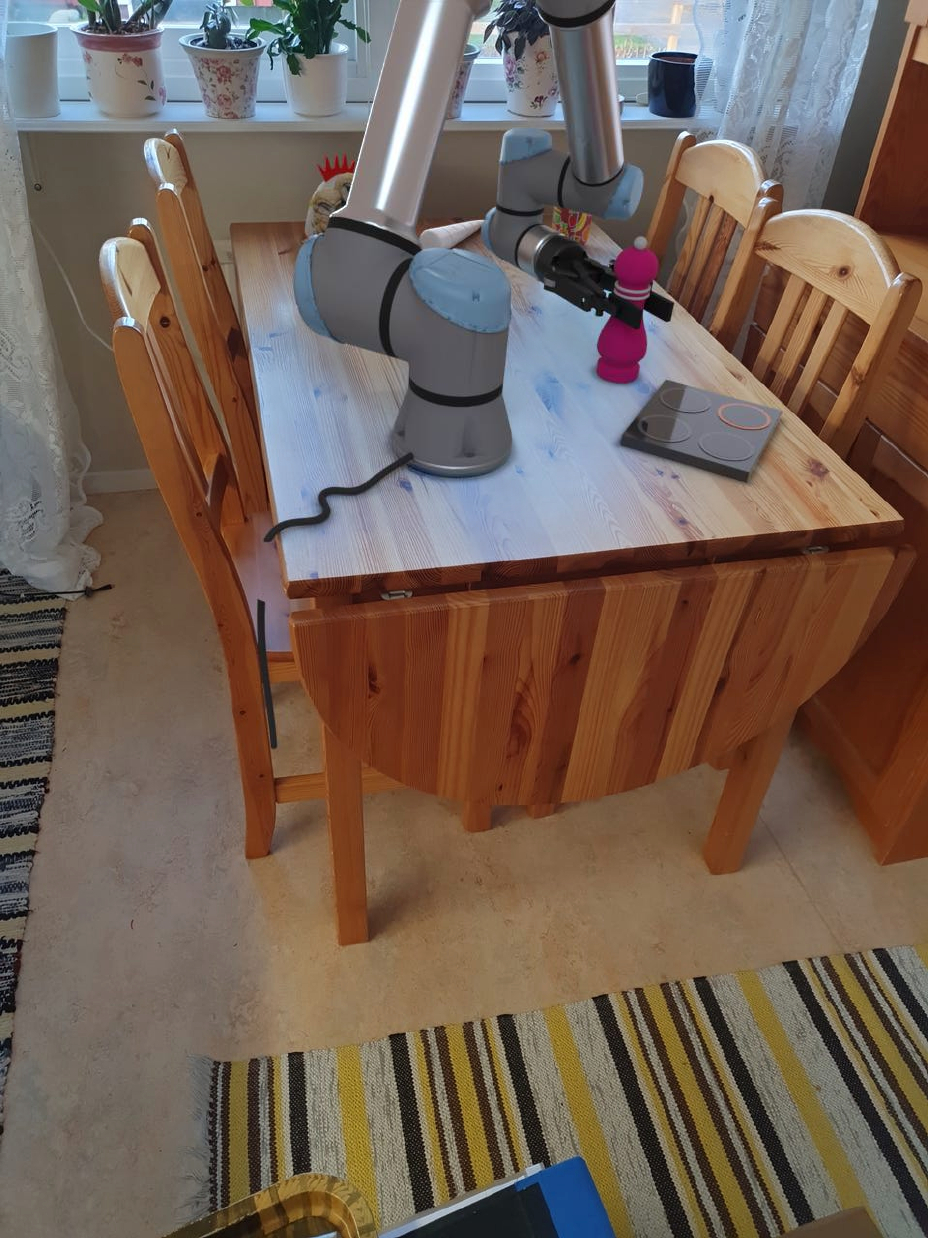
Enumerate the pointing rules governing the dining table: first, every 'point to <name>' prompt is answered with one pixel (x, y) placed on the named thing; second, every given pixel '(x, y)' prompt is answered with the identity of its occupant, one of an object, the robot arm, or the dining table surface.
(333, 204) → the owl figurine
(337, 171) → the skull with red mohawk
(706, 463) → the hob
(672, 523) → the dining table surface
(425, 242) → the unicorn horn
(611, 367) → the pepper mill
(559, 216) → the smoothie
